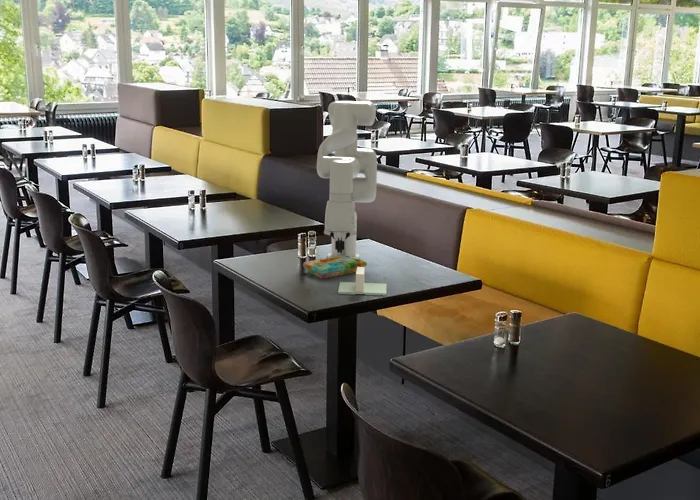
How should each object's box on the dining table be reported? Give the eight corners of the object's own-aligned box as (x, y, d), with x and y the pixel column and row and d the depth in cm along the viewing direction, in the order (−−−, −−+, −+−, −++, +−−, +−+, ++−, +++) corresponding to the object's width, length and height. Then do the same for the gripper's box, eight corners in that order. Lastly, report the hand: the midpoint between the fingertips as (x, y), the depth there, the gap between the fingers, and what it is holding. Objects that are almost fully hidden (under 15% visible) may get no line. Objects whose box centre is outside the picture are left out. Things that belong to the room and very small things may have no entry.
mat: (340, 284, 273) (340, 281, 272) (386, 285, 272) (386, 283, 272) (337, 293, 262) (337, 291, 262) (386, 295, 261) (386, 293, 261)
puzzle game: (303, 260, 285) (347, 253, 297) (303, 272, 286) (347, 265, 298) (321, 267, 276) (366, 259, 288) (321, 280, 277) (366, 272, 289)
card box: (356, 283, 271) (356, 266, 270) (364, 283, 271) (364, 267, 269) (355, 291, 262) (355, 274, 261) (363, 291, 262) (363, 274, 261)
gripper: (363, 196, 263) (362, 249, 267) (319, 194, 263) (318, 248, 268) (363, 200, 256) (361, 255, 260) (317, 199, 256) (316, 253, 261)
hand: (339, 251), depth 264 cm, fingers closed
